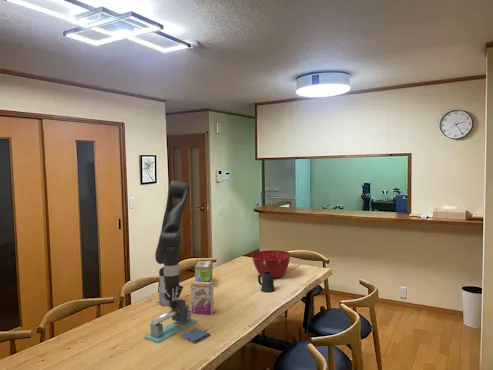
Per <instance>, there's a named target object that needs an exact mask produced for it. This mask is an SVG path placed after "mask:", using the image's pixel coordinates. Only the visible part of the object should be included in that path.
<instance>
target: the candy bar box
mask: <svg viewBox="0 0 493 370" xmlns="http://www.w3.org/2000/svg"><path fill="white" fill-rule="evenodd" d="M190 287H191V288H190V289H191V290H190V291H191V314H201V315H209V316H210V315H212V314H213V313H214V312H215V308H214V306H215V304H214V302H215V300H214V282H213V281H212V282H199V281H195V280H194V281H193V282H192V283H191V286H190Z"/></svg>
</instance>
